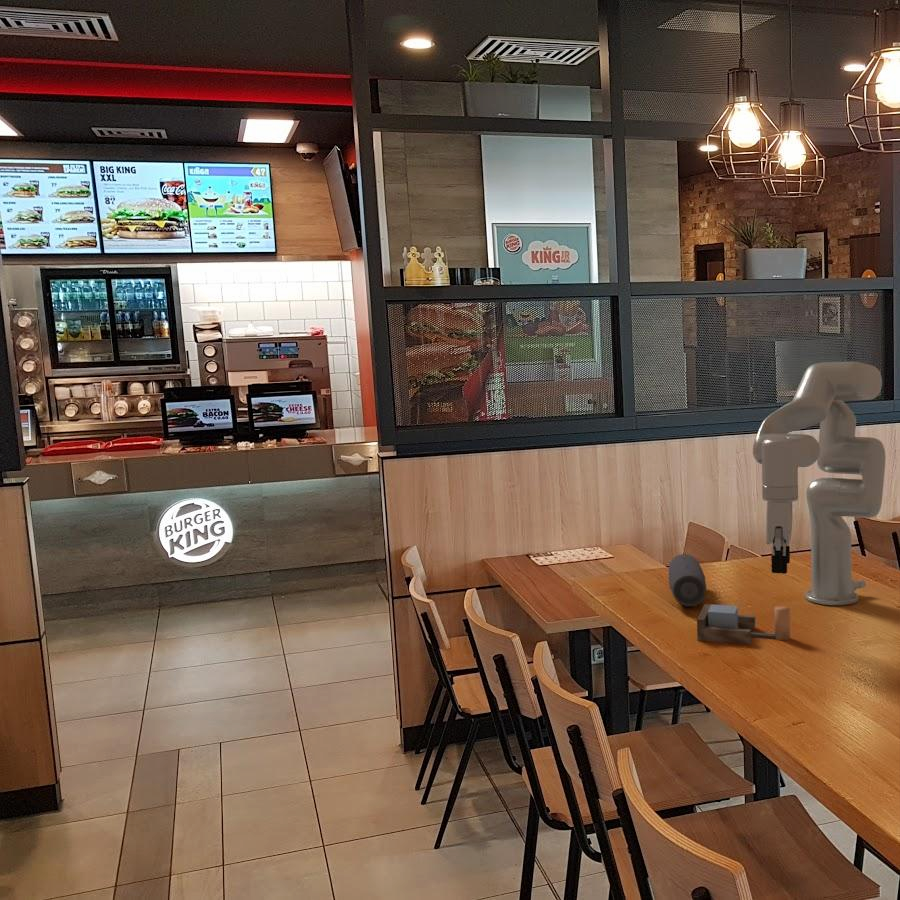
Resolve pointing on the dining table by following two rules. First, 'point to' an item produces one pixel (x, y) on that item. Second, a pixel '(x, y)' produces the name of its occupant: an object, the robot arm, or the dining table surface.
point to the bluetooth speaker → (687, 580)
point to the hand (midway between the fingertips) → (780, 567)
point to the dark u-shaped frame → (725, 629)
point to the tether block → (729, 619)
